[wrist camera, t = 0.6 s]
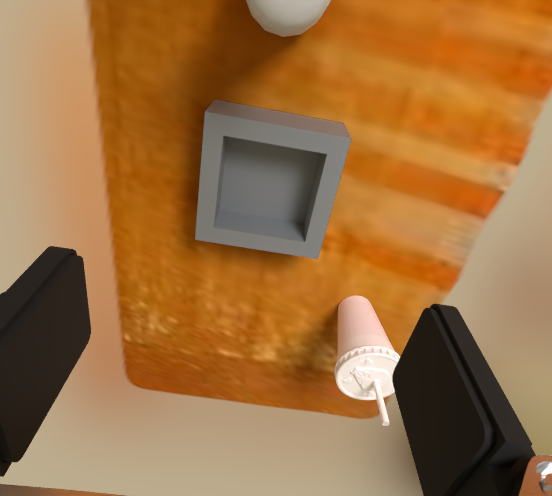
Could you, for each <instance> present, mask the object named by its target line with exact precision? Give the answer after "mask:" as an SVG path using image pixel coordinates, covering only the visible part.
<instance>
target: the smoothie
mask: <svg viewBox="0 0 552 496" xmlns="http://www.w3.org/2000/svg"><path fill="white" fill-rule="evenodd" d="M399 359H400V356H399V355H398V354H397V353H396V352H394V350H393V347H392V345H391V344H390V342H389V340H388V338H387V336H386V334H385V332H384V330H383V328H382V326H381V324H380V322H379V320H378V318H377V316H376V314H375V312H374V310H373V308H372V306H371V304H370V302H369V300H368V299H366V298H364V297H362V296H350V297H347V298H345V299H344V300H342V301H341V303H340V304H339V306H338V362H337V363H336V366H335V369H334V375H335V378H336V383H337V386H338V387H339V389H340V390H341V391H342V392H343V393H344V394H346V395H348V396H350V397H352V398H355V399H360V400H375V399H377V403H378V407H379V411H380V415H381V420H382V424H383V425H384V426H387V425H389V420H388V416H387V412H386V408H385V404H384V400H383V397H386V396H388V395H390V394H392V393H394V392H395V390H394V387H393V382H392V375H393V371H394V369H395V367H396V365H397V363H398V361H399Z"/></svg>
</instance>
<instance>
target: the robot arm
mask: <svg viewBox="0 0 552 496" xmlns="http://www.w3.org/2000/svg"><path fill="white" fill-rule="evenodd" d="M90 334H91V326H90V317H89V308H88V299H87V291H86V281H85V272H84V263H83V258H82V257H81V256H77V253H76V251H75V250H73V249H68V248H61V247H54V246H50V247H48V248H47V249H46V250H45V251H44V252H43V253H42V254H41V255H40V256H39V257H38V258H37V259H36V260H35V261H34V262H33V264H32V265H31V266H30V267H29V268H28V269H27V270H26V271H25V272H24V273H23V274H22V275H21V276H20V277H19V278H18V279H17V280H16V281H15V282H14V284H13V285H12V286H11V287H10V288H9V289H8V290H7V291H6V292H4V293H2V294H0V476H4V475H5V473H6V472H7V470H8V468H9V466H10V465H11V463H12V462H18V461H19V460H20V459H21V458H22V457H23V455H24V453H25V452H26V450H27V448H28V447H29V445H30V443H31V441H32V439H33V438H34V436H35V434H36V433H37V431H38V429H39V427H40V426H41V424H42V422H43V420H44V419H45V417H46V415H47V413H48V412H49V410H50V408H51V406H52V405H53V403H54V401H55V399H56V398H57V396H58V394H59V392H60V391H61V389H62V387H63V385H64V383H65V382H66V380H67V378H68V377H69V375H70V373H71V371H72V370H73V368H74V366H75V364H76V363H77V361H78V359H79V357H80V356H81V354H82V352H83V350H84V349H85V347H86V345H87V344H88V341H89V339H90ZM392 382H393V387H394V390H395V394H396V397H397V401H398V405H399V408H400V411H401V415H402V419H403V423H404V426H405V430H406V433H407V437H408V440H409V444H410V448H411V451H412V455H413V458H414V462H415V465H416V469H417V473H418V476H419V480H420V484H421V487H422V491H423V494H424V496H552V456H550V455H537V456H536V455H535V453H534V451H533V449H532V447H531V445H532V443H531V441H530V440H529V437H528V436H527V434H526V432H525V430H524V429H523V427H522V425H521V423H520V421H519V419H518V418H517V416H516V414H515V412H514V410H513V408H512V407H511V405H510V403H509V401H508V399H507V398H506V396H505V394H504V392H503V390H502V389H501V387H500V385H499V383H498V382H497V380H496V378H495V376H494V374H493V372H492V371H491V369H490V367H489V365H488V363H487V362H486V360H485V358H484V356H483V354H482V353H481V351H480V349H479V348H478V346H477V344H476V342H475V340H474V338H473V336H472V334H471V333H470V331H469V329H468V327H467V325H466V324H465V322H464V320H463V318H462V316H461V315H460V313H459V311H458V310H457V308H456V307H453V306H446V305H440V304H433V305H431V307H430V308H425V309H424V311H423V312H422V314H421V316H420V318H419V320H418V323H417V325H416V327H415V329H414V331H413V333H412V335H411V337H410V339H409V341H408V343H407V345H406V347H405V349H404V351H403V353H402V355H401V357H400V359H399V361H398V363H397V365H396V367H395V369H394V371H393V375H392ZM0 496H124V495H114V494H105V493H104V494H103V493H95V492H85V491H74V490H64V489H52V488H41V487H29V486H16V485H5V484H0Z"/></svg>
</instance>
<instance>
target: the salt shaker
mask: <svg viewBox="0 0 552 496" xmlns="http://www.w3.org/2000/svg"><path fill="white" fill-rule="evenodd" d="M330 1H331V0H246V2H247V4H248V7H249V10H250V13H251V15H252V16H253V18H254V19H255V20H256V21H257V22H258V23H259V24H260V26H261V27H262V28H263V29H264V30H265V31H268V32H271V33H273V34H276V35H279V36H281V37H286V36H293V35H301V34H302V33H304V32H305V31H306V30H308V29H309V28H311V27H312V26H313V25H315V24H316V23H317V22H318V20H319V19H320V18H321V17H322V15H323V13H324V12H325V10H326V8H327V6H328V5H329V3H330Z"/></svg>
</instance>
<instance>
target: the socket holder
mask: <svg viewBox="0 0 552 496" xmlns="http://www.w3.org/2000/svg"><path fill="white" fill-rule="evenodd" d="M350 142H351V137H350V135H349V133H348V131H347V129H346V127H345V125H344V123H340V122H335V121H329V120H324V119H319V118H313V117H308V116H302V115H297V114H292V113H286V112H281V111H275V110H270V109H265V108H259V107H254V106H249V105H243V104H238V103H232V102H227V101H222V100H216V99H214V100H213V101H212V103H211V104H210V105H209V107H208V108H207V109H206V111H205V117H204V129H203V142H202V155H201V168H200V181H199V194H198V207H197V219H196V232H195V240H200V241H206V242H212V243H219V244H225V245H231V246H238V247H244V248H250V249H257V250H263V251H269V252H276V253H282V254H288V255H295V256H301V257H307V258H314V259H318V257H319V254H320V250H321V246H322V243H323V239H324V236H325V232H326V228H327V225H328V221H329V218H330V214H331V210H332V207H333V203H334V200H335V196H336V192H337V189H338V185H339V182H340V178H341V174H342V171H343V167H344V163H345V160H346V156H347V153H348V149H349V145H350Z"/></svg>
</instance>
